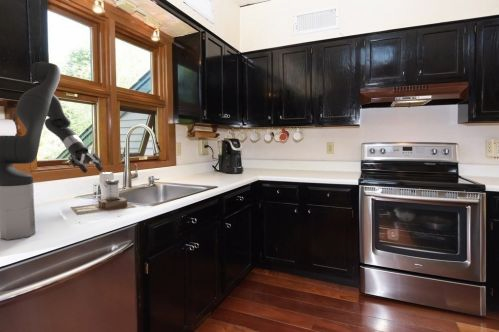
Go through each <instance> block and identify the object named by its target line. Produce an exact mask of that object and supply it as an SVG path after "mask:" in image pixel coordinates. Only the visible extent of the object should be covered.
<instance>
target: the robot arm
mask: <svg viewBox="0 0 499 332" xmlns="http://www.w3.org/2000/svg"><path fill="white" fill-rule="evenodd" d="M30 72H31V74H32V77H33V78H34V79H35V80H36V81H38V82H39V83H41V84H40V85H38V86H36V87H34V88H33V87H32V88H30V89H28V90H27V91H25V92H24V93H22V94H21V95H20V97H19V100H18V102H17V104H16V107H15V113H16V115H17V118H18V119H19V121H20V122H21V123H22V124H23V126H24V127H25V129H26V132H25V133H24V135H0V239H3V240H5V241H10V240H15V239H21V238H22V239H23V238H29V237H31V236H33V235H34V234H36V215H35V214H36V213H35V195H34V193H35V192H34V191H35V190H34V176H33V175H31V174H29V173H28V172H27V173H26V172H24V171H21V170H18V169H17V168H15V166H14V164H15V165H18V164H19V165H21V164H22V165H23V164H32V163H33V162H34V161H35V160H36V159H37V156H38V153H39V147H40V143H41V136H42V131H43V129H44V126H45V129H47V130H48V131H50V133H52V134H54V136H56V137H57V138H59V139H60V141H61V142H62V144H63V145H64V147H65V149H66V150H67V151H68V153H69V154H70V155H69V156H68V160H69V162H70V163H71V165H72V166H73V167H74V168H75V167H77V168H79V169H80V170H81V172H82V173H83V174H86V173H87V172H88V168H87V167H86V166H85V164H89V165H93V166H95V168H96V169H97V171H99V172H102V171H103V169H104V168H103V166H102V164H101V163H102V162H103V160H102V159H101V157H99V156H98V154H97V153H95V152H94V153H92V154H91V153H89V148H87V146H86V144H84V141H82V139H81V138H80V137H79V136H78V134H76V132H75V131H74V130H73V129H72V128H70V125H71V121H70V119H69V116H67V115H66V114H65V112H64V109H63V107H62V103H61V101H60V99H59V98H58V97H57V96H56V95H55V92H56V90H57V88H58V85H59V83H60V80H61V69H60V67H59V66H58V65H57V64H55V63H52V62H48V61H47V62H45V61H40V62H35V63H33V64H32V66H31V70H30ZM47 117H48V118H47Z"/></svg>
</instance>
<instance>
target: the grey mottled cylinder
mask: <svg viewBox="0 0 499 332" xmlns="http://www.w3.org/2000/svg"><path fill="white" fill-rule="evenodd" d="M119 183H120V180H118V179H114V180H107V181H106V185H107V202H108V201H117V200H119V197H120V196H119V195H120V194H119Z"/></svg>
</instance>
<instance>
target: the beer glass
mask: <svg viewBox="0 0 499 332" xmlns="http://www.w3.org/2000/svg"><path fill="white" fill-rule="evenodd" d="M114 177H115V176H114V172H113V171H112V172H111V171H110V172H109V171H108V172H107V171H105V172H104V171H103V172H99V188H100V192H101V197H100V199H104V198H107V185H106V181H107V180H115V178H114Z"/></svg>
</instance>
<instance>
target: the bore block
mask: <svg viewBox="0 0 499 332" xmlns="http://www.w3.org/2000/svg"><path fill="white" fill-rule="evenodd" d="M135 208H137V206H135V205H134V204H132V203H130V202H129V201H128V199H127V198H125V197H120V196H119V200H117V201H108V202H107V198H104V199H101V198H99V199H98V202H97V203H95V204H94V203H93V204H88V205H85V204H84V205H78V206H77V205H76V206H70V209H71V210H72V211H73V213H74V214H76V215H77V216H80V215H81V216H82V215H88V214H89V215H90V214H95V213H104V212H111V211H119V210H126V209H127V210H128V209H135Z"/></svg>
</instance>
